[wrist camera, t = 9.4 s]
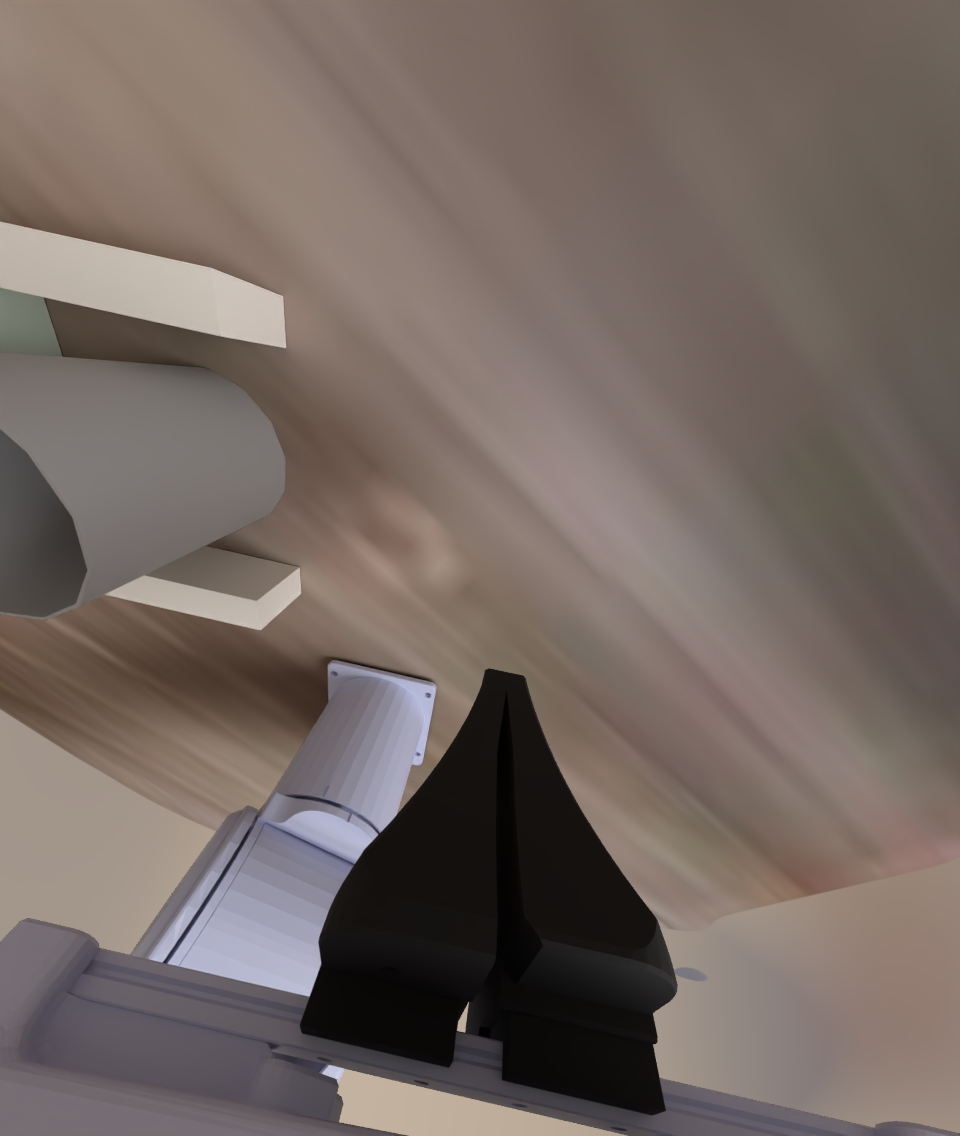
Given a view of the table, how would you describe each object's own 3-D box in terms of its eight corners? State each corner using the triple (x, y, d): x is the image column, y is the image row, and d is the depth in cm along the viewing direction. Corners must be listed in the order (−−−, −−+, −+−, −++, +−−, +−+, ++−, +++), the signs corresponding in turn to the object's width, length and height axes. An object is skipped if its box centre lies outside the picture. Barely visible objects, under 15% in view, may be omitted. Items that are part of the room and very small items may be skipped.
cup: (110, 429, 19) (-243, 461, 10) (189, 324, 16) (-202, 246, 8) (231, 547, 22) (32, 653, 13) (316, 475, 19) (138, 546, 10)
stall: (301, 593, 23) (260, 630, 19) (97, 546, 23) (20, 575, 19) (282, 296, 15) (211, 268, 12) (-19, 230, 16) (-178, 182, 12)
